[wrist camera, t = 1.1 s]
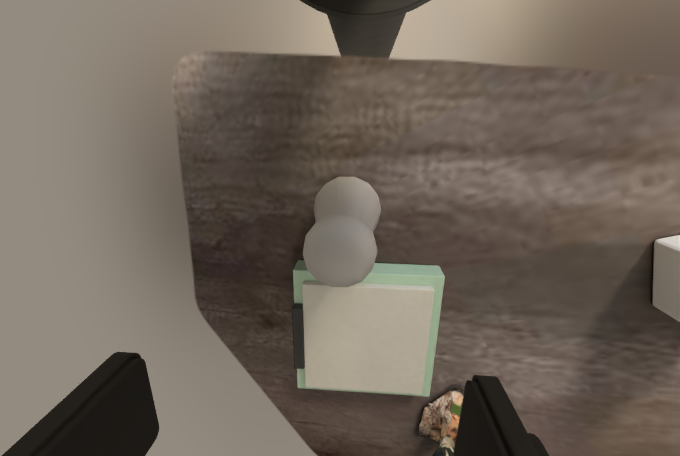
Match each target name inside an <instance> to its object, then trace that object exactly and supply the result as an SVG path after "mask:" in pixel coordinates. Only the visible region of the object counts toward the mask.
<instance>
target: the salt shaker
mask: <svg viewBox="0 0 680 456" xmlns="http://www.w3.org/2000/svg"><path fill="white" fill-rule="evenodd" d="M380 213H381V206H380V202H379V197H378V195H377V193H376V192H375V191H374V190H373V188H372V187H371V186H370V185H369V183H367V182H365V181H363V180H360V179H358V178H356V177H337V178H336V179H334V180H332V181H330V182H328V183H326V184H325V185H324V186H323V187H322V189H321V190H320V191H319V192H318V194H317V195H316V198H315V205H314V215H315V221H316V223H315V224H314V226H313V227H312V228H311V229H310V231H309V232H308V233H307V235H306V236H305V243H304V249H303V257H304V260H305V264H306V267H307V270H308V271H309V272H310V273H311V274H312V275H313V276H314V277H315V278H316V279H317V280H318V281H319V282H322V283H324V284H326V285H328V286H330V287H350V286H352V285H355V284H357V283H360V282H362V281H363V280H364V279H365V278H366V276H367V275H368V274H369V273H370V272H371V271H372V269H373V266H374V262H375V259H376V255H377V247H376V243H375V239H374V235H373V231H374V230H375V228H376V226H377V224H378V221H379V217H380Z"/></svg>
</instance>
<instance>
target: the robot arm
mask: <svg viewBox="0 0 680 456" xmlns="http://www.w3.org/2000/svg"><path fill="white" fill-rule="evenodd" d="M158 432H159V423H158V419H157V414H156V410H155V405H154V401H153V396H152V391H151V387H150V382H149V378H148V373H147V368H146V364H145V361H144V360H143V359H141V356H140V355H139V354H137V353H126V352H117V353H114V354H113V355H111V356H110V357H109V358H108V359H107V360H106V361H105V362H104V363H103V364H101V365H100V366H99V367H98V368H97V369H96V370H95V371H94V372H93V373H92V374H91V375H89V376H88V377H87V379H85V380H84V381H83V382H82V383H81V384H80V385H79V386H77V387H76V388H75V389H74V390H73V391H72V392H71V393H70V394H69V395H68V396H67V397H66V398H64V399H63V400H62V401H61V402H60V403H59V404H58V405H57V406H56V407H55V408H53V409H52V410H51V411H50V412H49V413H48V414H47V415H46V416H45V417H44V418H42V419H41V420H40V421H39V422H38V423H37V424H36V425H35V426H34V427H33V428H32V429H30V430H29V431H28V432H27V433H26V434H25V435H24V436H23V437H22V438H21V439H20V440H19V441H17V442H16V443H15V444H14V445H13V446H12V447H11V448H10V449H9V450H8V451H6V452H5V453H4V454H3V455H2V456H145V455H146V453H147V452H148V450H149V449H150V447H151V446H152V444H153V443H154V441H155V439H156V437H157V435H158ZM454 456H549V455H548V453H547V451H546V449H545V448H544V446H543V444H542V443H541V441H540V440H539V438H538V437H537V436H535V435H534V434H531V433H527V432H526V430H525V428H524V426H523V424H522V422H521V420H520V418H519V416H518V415H517V413H516V411H515V409H514V407H513V405H512V403H511V401H510V400H509V398H508V396H507V394H506V392H505V390H504V388H503V386H502V384H501V383H500V381H499V379H498V378H497V377H494V376H479V375H474V376H473V379H472V381H467V382H466V385H465V391H464V396H463V402H462V408H461V413H460V419H459V424H458V430H457V436H456V441H455V447H454Z"/></svg>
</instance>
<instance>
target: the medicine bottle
mask: <svg viewBox="0 0 680 456" xmlns="http://www.w3.org/2000/svg"><path fill="white" fill-rule="evenodd" d="M652 304H653V306H654V307H656V308H658V309H659V310H661V311H662V312H664V313H666V314H667V315H669V316H671V317H672V318H674V319H675V320H677V321H679V322H680V235H676V236H671V237H666V238H661V239H657V240H656V241H655V242H654V266H653V301H652Z"/></svg>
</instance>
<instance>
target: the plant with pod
mask: <svg viewBox="0 0 680 456" xmlns="http://www.w3.org/2000/svg"><path fill="white" fill-rule="evenodd" d="M464 391H465V390H463V388H455V389H452V390H450V391H448V392H447V393H446V394H443V395H442V396H441V397H440V398H439V399H437V400H436V401H434V402H433V403H434V404H431V403H428V404H429V405H430V407H429V406H425V409H423V410H424V412H423V414H422V420H421V423H420V424H421V425H420V424H419V425H420V426H419V427H420V428H419V431H420V432H419V431H418V432H419V433H418V434H421V435H422V436H428V437H429V438H431V439H434V440H436V441H438V442H439V443H440V442H441V444H440V445H439V448H438V450H436V452H435V453H434V454H433V456H454V447H455V441H456V436H457V430H458V424H459V419H460V413H461V408H462V402H463V396H464ZM421 435H420V436H421Z"/></svg>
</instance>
